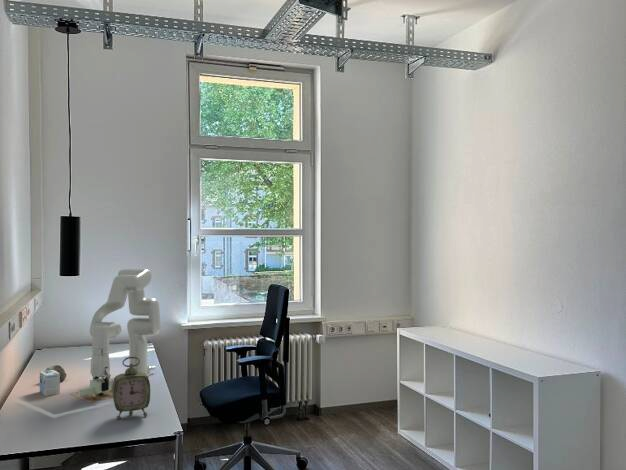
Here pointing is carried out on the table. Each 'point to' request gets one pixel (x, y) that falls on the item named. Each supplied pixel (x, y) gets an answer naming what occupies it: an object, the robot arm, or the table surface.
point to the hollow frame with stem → (94, 387)
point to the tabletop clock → (131, 390)
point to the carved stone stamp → (59, 370)
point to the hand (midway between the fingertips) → (100, 388)
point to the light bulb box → (49, 382)
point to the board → (98, 398)
